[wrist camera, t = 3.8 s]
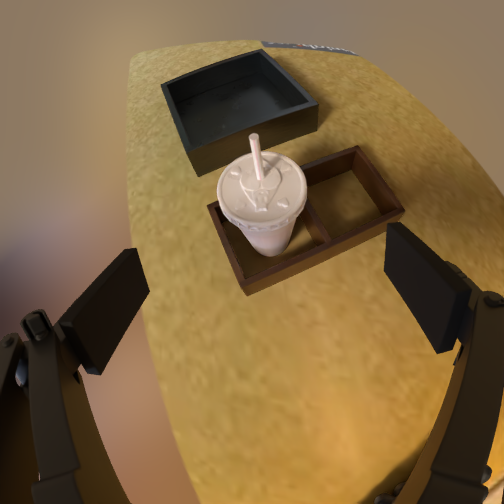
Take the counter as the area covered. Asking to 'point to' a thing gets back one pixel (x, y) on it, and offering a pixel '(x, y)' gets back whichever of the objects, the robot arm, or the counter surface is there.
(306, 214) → the wooden divided frame
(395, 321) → the counter surface
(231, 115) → the dark grey square tray
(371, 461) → the counter surface
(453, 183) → the counter surface
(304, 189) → the smoothie
